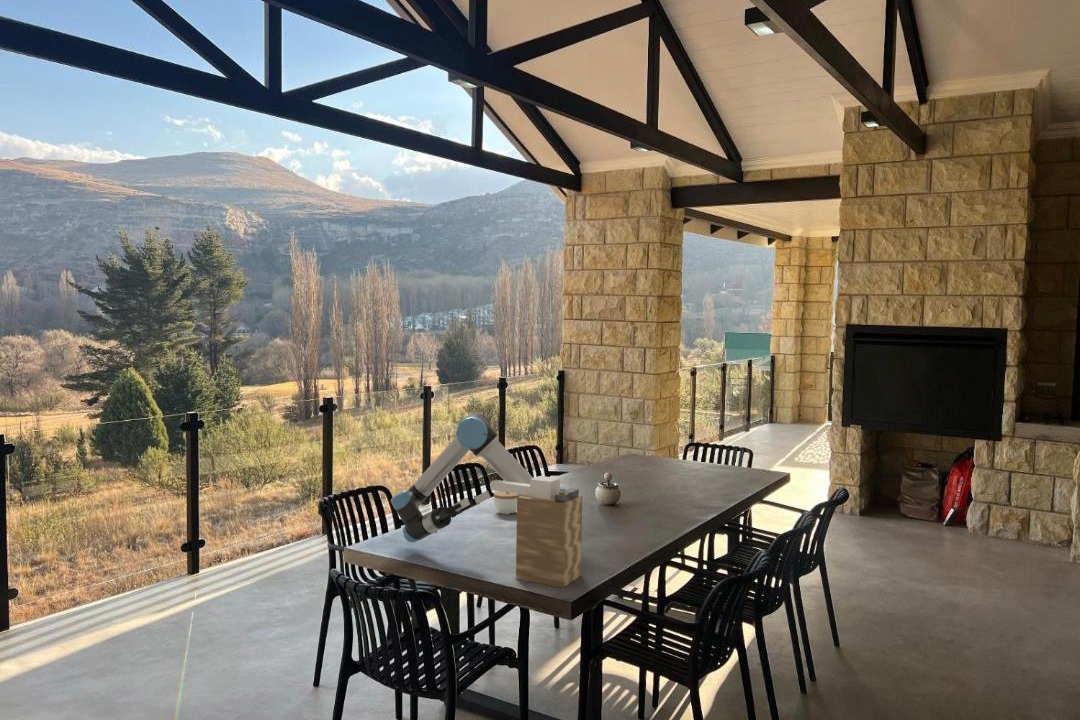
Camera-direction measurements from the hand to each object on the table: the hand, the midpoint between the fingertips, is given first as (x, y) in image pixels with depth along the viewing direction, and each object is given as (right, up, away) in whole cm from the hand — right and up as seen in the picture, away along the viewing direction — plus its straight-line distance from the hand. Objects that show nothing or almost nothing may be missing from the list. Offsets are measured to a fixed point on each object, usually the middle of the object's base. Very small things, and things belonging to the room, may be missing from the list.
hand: (478, 497), depth 265 cm
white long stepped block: (+17, +3, -9) cm, 19 cm away
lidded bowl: (+7, -22, +77) cm, 80 cm away
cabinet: (+25, -25, -13) cm, 38 cm away
